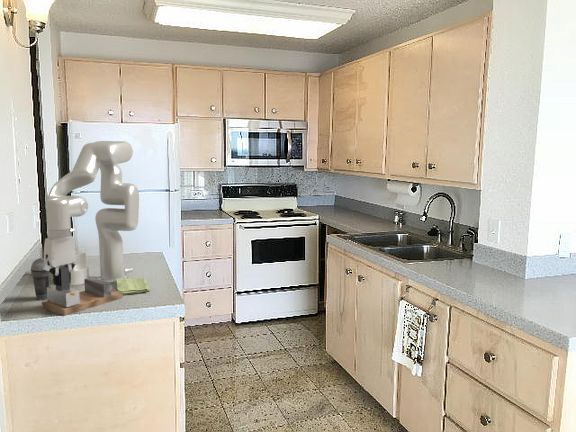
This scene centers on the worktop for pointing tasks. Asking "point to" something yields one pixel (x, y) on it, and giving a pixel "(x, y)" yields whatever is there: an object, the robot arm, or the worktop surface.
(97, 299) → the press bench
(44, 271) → the beverage cup
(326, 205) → the worktop surface
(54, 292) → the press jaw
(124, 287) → the washcloth
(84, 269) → the base with upright slab
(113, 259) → the robot arm
